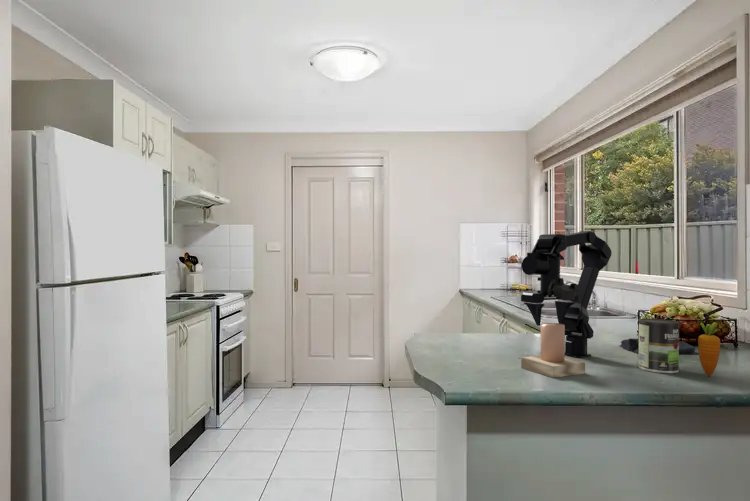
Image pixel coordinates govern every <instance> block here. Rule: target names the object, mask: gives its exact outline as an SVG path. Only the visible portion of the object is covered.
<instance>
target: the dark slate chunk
mask: <svg viewBox="0 0 750 501" xmlns="http://www.w3.org/2000/svg"><path fill="white" fill-rule="evenodd" d="M620 343H621V344H620V345H619V347H620V348H622V349H623V350H625V351H628V352H632V353H636V354H638V355H639V338H628V339H623V340H621V341H620ZM695 351H696V348H695V347H694V345H691V344H689V343H688V342H686V341H683V340H682V341H680V340H679V355H680V354H690V353H693V352H695Z"/></svg>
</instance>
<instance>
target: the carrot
mask: <svg viewBox="0 0 750 501" xmlns="http://www.w3.org/2000/svg"><path fill="white" fill-rule="evenodd" d="M699 325H700V326H701V328H702V330H703V331H704V334H700V335H699V336H698V340H697V341H698V342H697V344H698V345H697V347H698V355H699V362H700V365H701V368H702V370H703V372H704V374H705V375H706V376H707V377H711V376H712V375H713V373H714V372H715V370H716V369H717V366H718V364H719V363H718V362H719V358H720V351H721V339H720V338H719V337H718V336H716V335H715V333H716V332H718V329H716V327H717V325H718V323H717V322H715V321H714V322H712V324H709V323H707V324H706V326H705V324H704V322H700V323H699Z"/></svg>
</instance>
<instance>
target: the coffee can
mask: <svg viewBox="0 0 750 501" xmlns="http://www.w3.org/2000/svg"><path fill="white" fill-rule="evenodd" d="M637 320H638V339H639V354H638V366H637V367H638V368H639V369H640V370H643V371H646V372H652V373H659V374H678V373H680V371H679V368H680V365H679V364H680V362H679V360H680V359H679V358H680V357H679V356H680V354H679V341H680V324H681V323H680V321H677V320H674V319H673V320H671V319H665V318H664V319H663V318H639V319H637Z"/></svg>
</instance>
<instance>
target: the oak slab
mask: <svg viewBox="0 0 750 501" xmlns="http://www.w3.org/2000/svg"><path fill="white" fill-rule="evenodd" d="M520 361H521V362H520V364H521V365H520V368H521V369H524V370H527V371H530V372H533V373H537V374H540V375H542V376H546V377H548V378H553V379H554V378H562V377H568V376H569V377H570V376H576V375H577V376H578V375H582V374H586V362H585V361H580V360H576V359H573V358H569V357H565V361H564V362H548V361H543V360H541V354H539V355H533V356H530V355H529V356H523V357H522V356H521V359H520Z"/></svg>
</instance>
